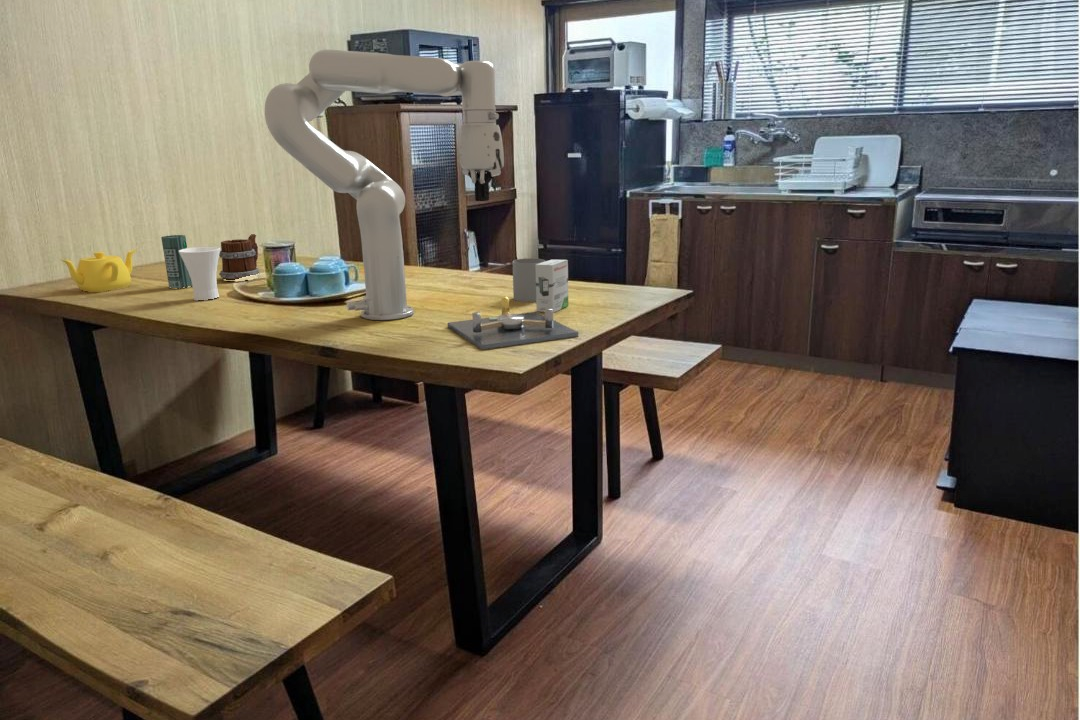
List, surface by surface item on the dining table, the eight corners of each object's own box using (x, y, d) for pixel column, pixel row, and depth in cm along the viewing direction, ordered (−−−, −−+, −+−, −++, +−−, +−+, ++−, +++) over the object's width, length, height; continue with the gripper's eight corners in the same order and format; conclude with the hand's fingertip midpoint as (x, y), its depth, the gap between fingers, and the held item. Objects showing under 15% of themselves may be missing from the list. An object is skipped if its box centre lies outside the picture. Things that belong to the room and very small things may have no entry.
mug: (209, 281, 238) (208, 231, 236) (240, 281, 252) (240, 233, 250) (241, 283, 235) (241, 232, 233) (271, 282, 248) (271, 234, 246)
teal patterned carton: (196, 285, 234) (189, 235, 229) (183, 289, 228) (175, 237, 224) (179, 285, 235) (171, 234, 231) (165, 288, 229) (157, 237, 225)
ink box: (552, 304, 199) (551, 258, 196) (569, 306, 196) (569, 259, 193) (535, 311, 192) (534, 263, 188) (553, 313, 189) (552, 264, 186)
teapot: (82, 298, 219) (74, 259, 216) (56, 292, 228) (48, 255, 225) (157, 285, 236) (151, 249, 233) (130, 280, 245) (125, 245, 242)
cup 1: (221, 293, 222) (215, 245, 218) (231, 298, 213) (224, 249, 210) (182, 298, 216) (174, 249, 212) (190, 304, 208) (182, 253, 204)
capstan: (554, 329, 169) (553, 308, 167) (473, 334, 166) (472, 312, 165) (542, 313, 183) (541, 293, 182) (467, 317, 181) (466, 297, 179)
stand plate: (482, 349, 159) (482, 344, 159) (447, 326, 178) (447, 321, 178) (578, 336, 168) (578, 330, 167) (535, 315, 187) (535, 310, 187)
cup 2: (541, 302, 202) (541, 263, 199) (510, 301, 203) (509, 263, 200) (547, 295, 209) (547, 258, 207) (518, 295, 211) (516, 258, 208)
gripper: (515, 118, 177) (517, 200, 182) (465, 119, 185) (468, 198, 191) (494, 118, 171) (497, 203, 176) (443, 119, 179) (447, 200, 185)
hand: (482, 200), depth 183 cm, fingers closed
